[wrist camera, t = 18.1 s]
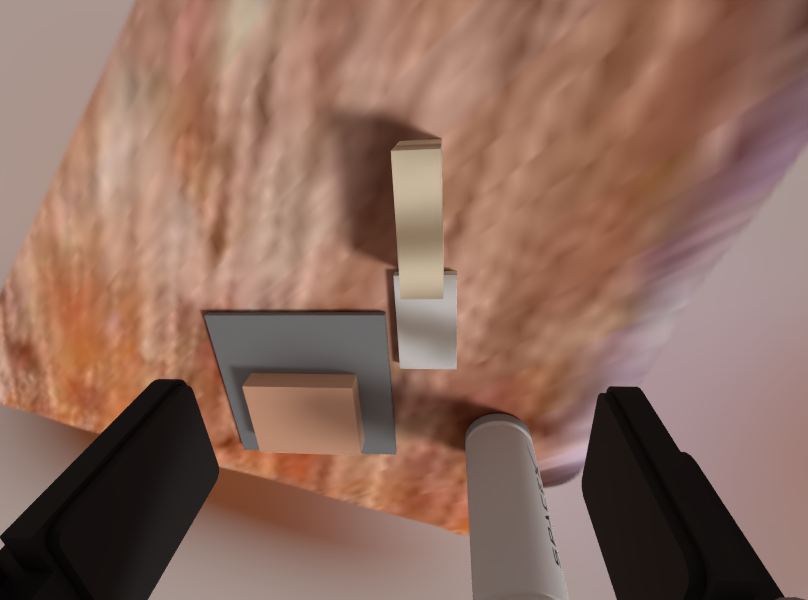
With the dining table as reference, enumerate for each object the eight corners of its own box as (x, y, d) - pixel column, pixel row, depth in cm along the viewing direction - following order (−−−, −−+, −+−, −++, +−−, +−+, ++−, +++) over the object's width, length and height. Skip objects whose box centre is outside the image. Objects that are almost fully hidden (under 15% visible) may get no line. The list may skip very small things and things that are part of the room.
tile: (242, 386, 38) (260, 451, 42) (352, 388, 37) (360, 455, 41) (251, 372, 40) (268, 436, 44) (356, 374, 39) (364, 439, 43)
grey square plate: (207, 312, 38) (204, 315, 38) (385, 312, 36) (384, 315, 36) (246, 445, 45) (243, 449, 45) (396, 449, 44) (395, 454, 43)
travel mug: (461, 459, 43) (471, 720, 26) (467, 409, 40) (484, 665, 23) (524, 465, 43) (578, 734, 25) (535, 414, 40) (605, 680, 22)
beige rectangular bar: (385, 141, 30) (374, 151, 26) (456, 138, 30) (457, 147, 25) (401, 363, 39) (394, 399, 34) (456, 363, 38) (457, 400, 34)
